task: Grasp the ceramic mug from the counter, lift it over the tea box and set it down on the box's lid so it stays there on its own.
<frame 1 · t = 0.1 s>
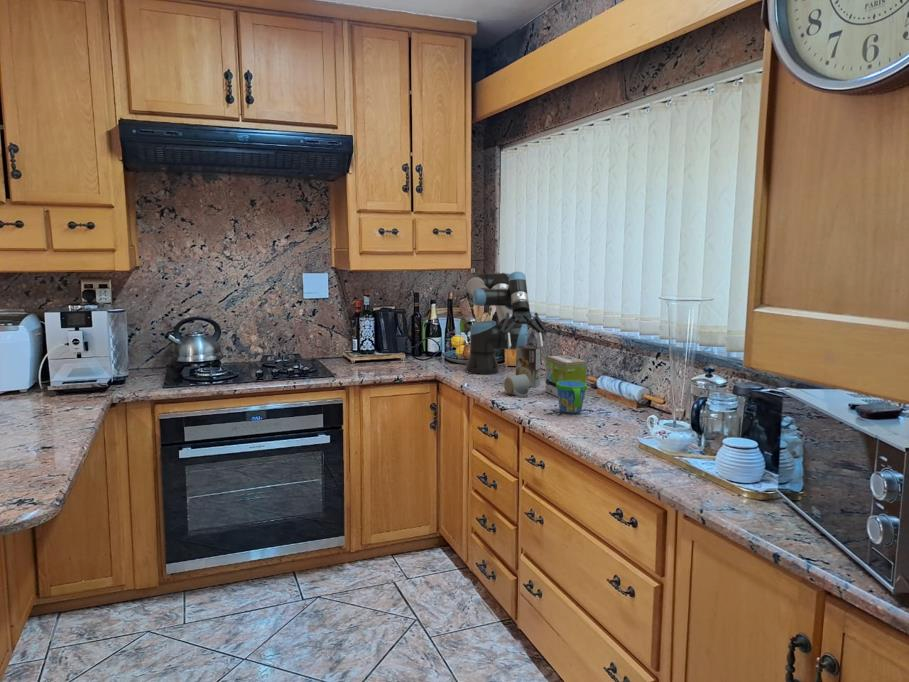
hand: (525, 347, 280), 15 cm above the worktop, tool tilted 35°, fingers open, 13 cm apart
coffee box: (527, 385, 279), on the worktop
tea box: (564, 395, 260), on the worktop
snack cup: (570, 412, 233), on the worktop
ceramic mug: (518, 395, 260), on the worktop
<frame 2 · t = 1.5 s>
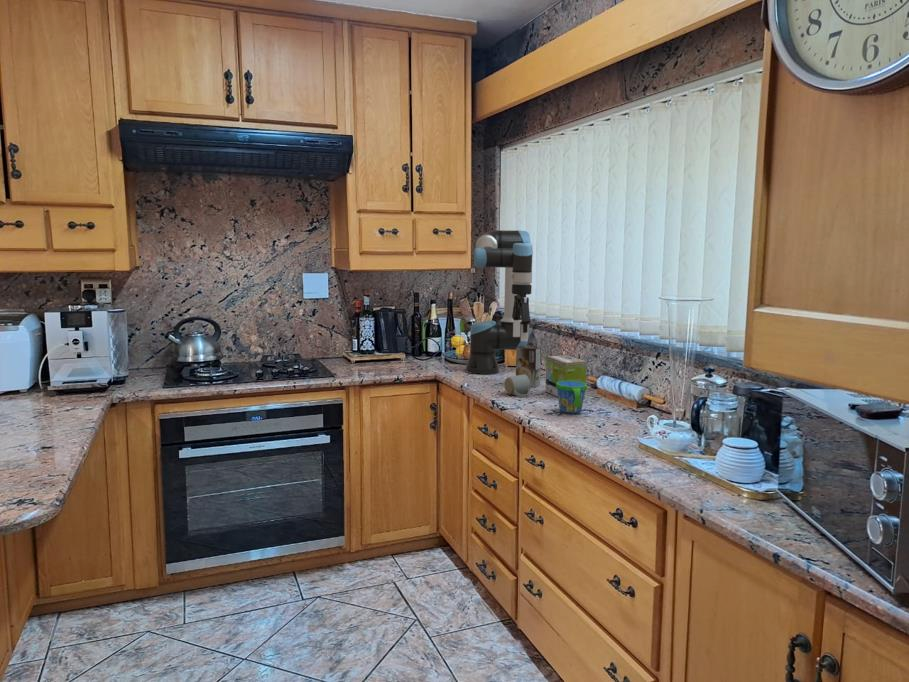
hand: (520, 339, 257), 22 cm above the worktop, tool pointing down, fingers open, 13 cm apart
nothing on the worktop moved.
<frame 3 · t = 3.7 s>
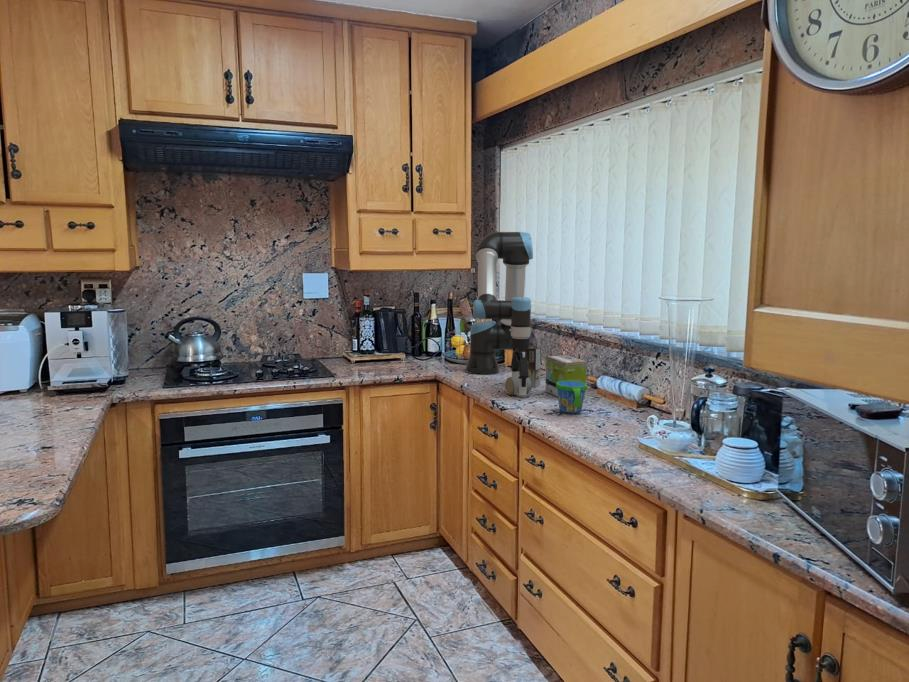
hand: (518, 391, 260), 1 cm above the worktop, tool pointing down, fingers open, 13 cm apart
ceramic mug: (519, 395, 259), on the worktop, touching gripper
everything else where it was.
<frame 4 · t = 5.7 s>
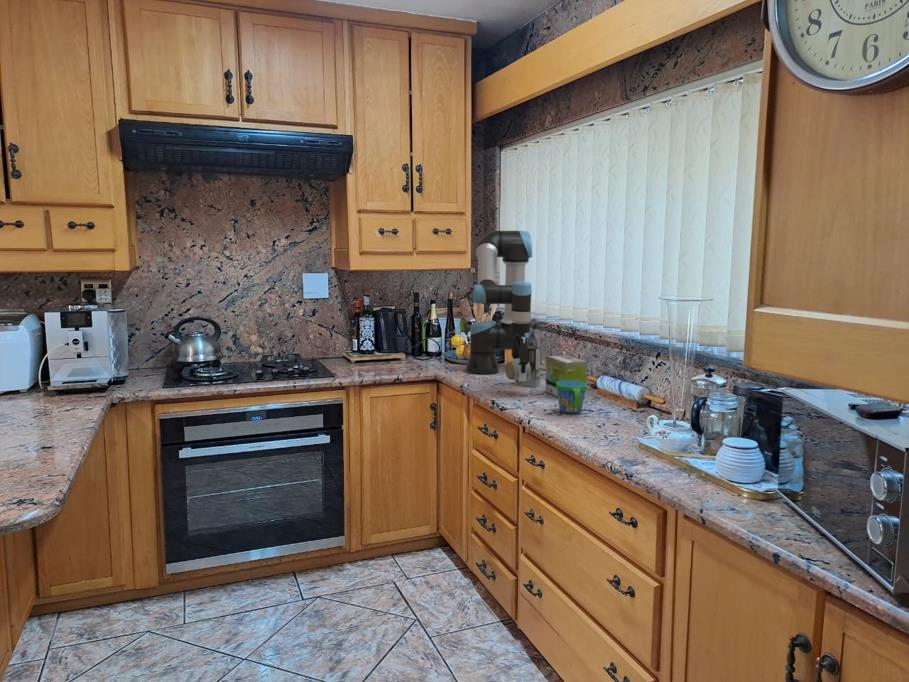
hand: (519, 377, 260), 7 cm above the worktop, tool pointing down, fingers closed on ceramic mug, 11 cm apart
ceramic mug: (519, 380, 260), point 6 cm above the worktop, touching gripper
everything else where it was.
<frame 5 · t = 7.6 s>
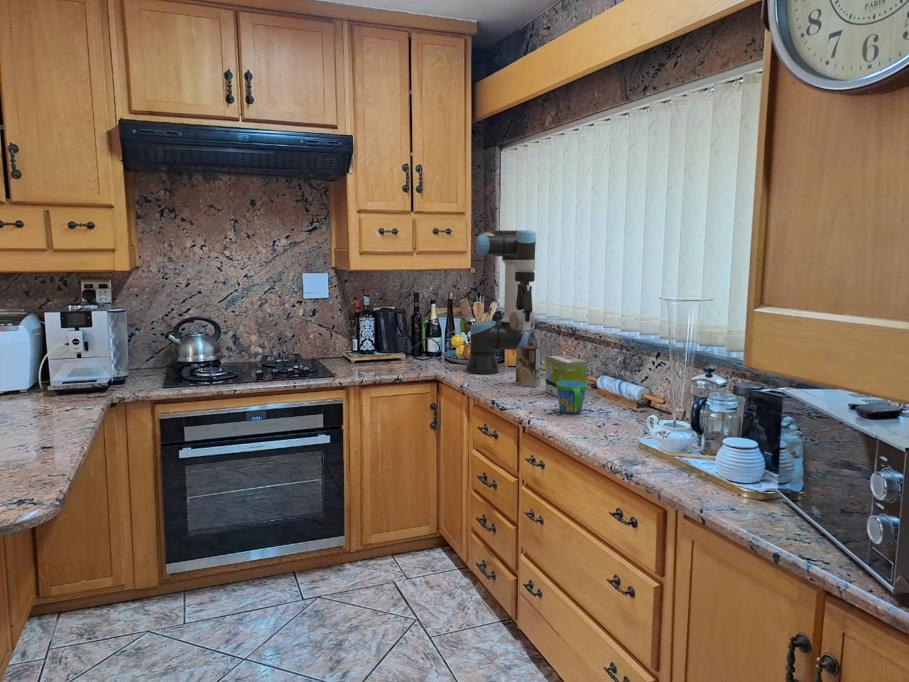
hand: (523, 328, 257), 26 cm above the worktop, tool pointing down, fingers closed on ceramic mug, 11 cm apart
ceramic mug: (523, 330, 257), point 25 cm above the worktop, touching gripper
everything else where it was.
when the fingers open (17 cm above the worktop, at t = 10.8 s): ceramic mug drops 2 cm, resting on tea box.
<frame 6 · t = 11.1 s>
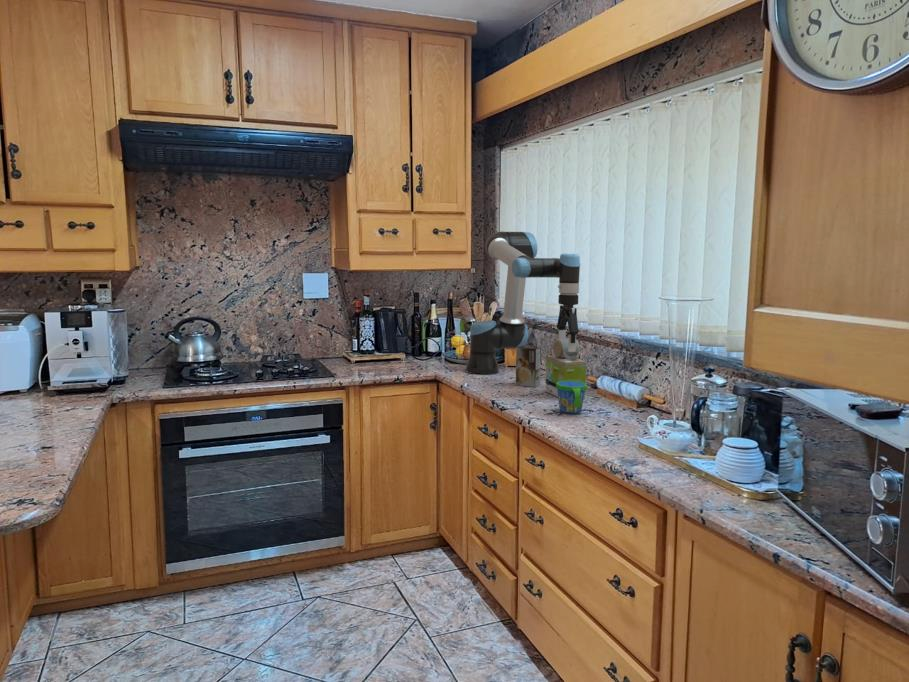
hand: (566, 349, 258), 18 cm above the worktop, tool pointing down, fingers open, 13 cm apart
tea box: (564, 395, 260), on the worktop, touching ceramic mug
ceramic mug: (567, 358, 258), point 14 cm above the worktop, touching tea box
everything else where it was.
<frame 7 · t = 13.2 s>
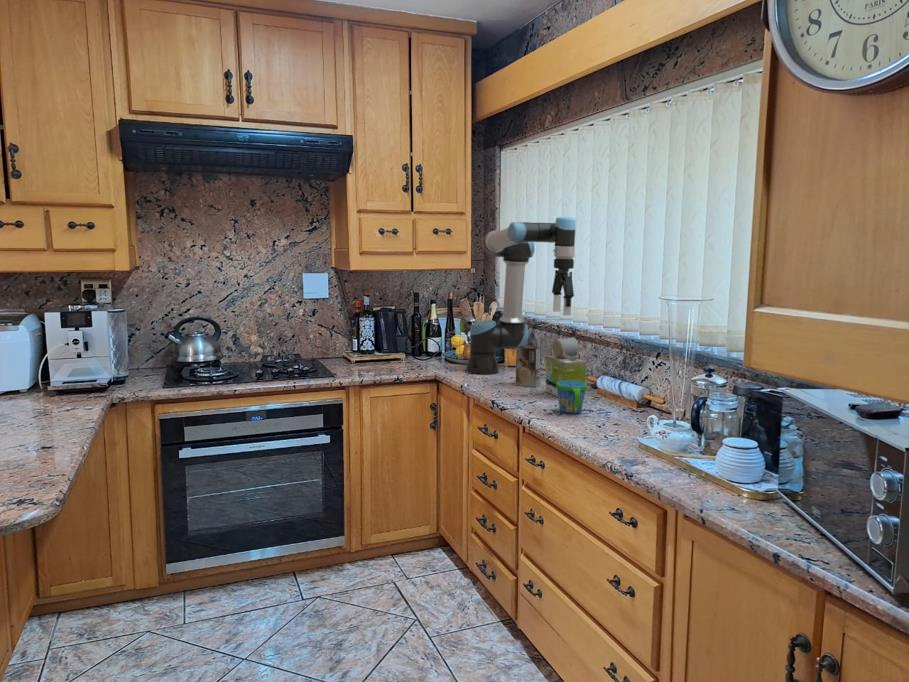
hand: (561, 313, 258), 32 cm above the worktop, tool pointing down, fingers open, 13 cm apart
nothing on the worktop moved.
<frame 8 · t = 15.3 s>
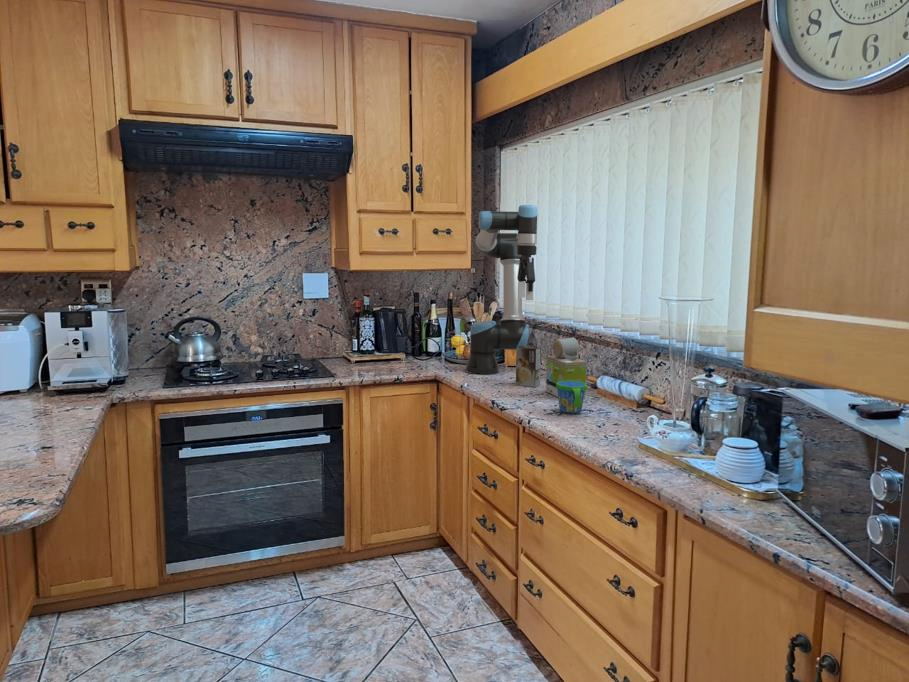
hand: (525, 298, 265), 37 cm above the worktop, tool pointing down, fingers open, 13 cm apart
nothing on the worktop moved.
at the end: ceramic mug inside the target area on the tea box (0.5 cm from its centre), point 14.8 cm above the tea box's base; ceramic mug tilted 2°; the gripper is holding nothing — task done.
